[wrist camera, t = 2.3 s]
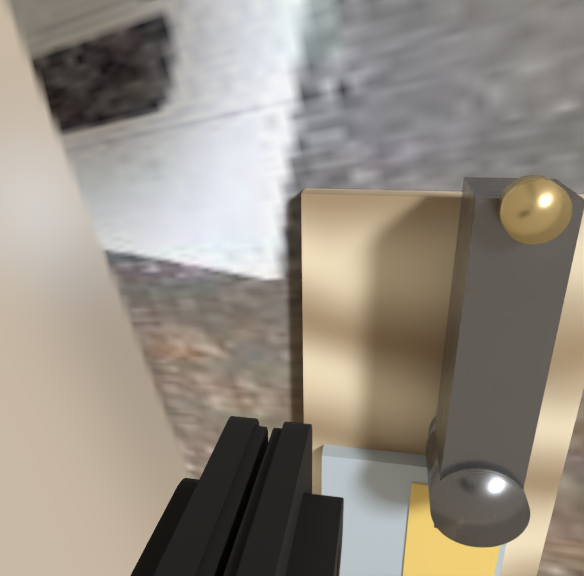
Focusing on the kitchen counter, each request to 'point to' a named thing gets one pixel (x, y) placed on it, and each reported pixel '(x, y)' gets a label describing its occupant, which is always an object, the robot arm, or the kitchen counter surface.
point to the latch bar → (498, 352)
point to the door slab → (394, 518)
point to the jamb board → (411, 338)
